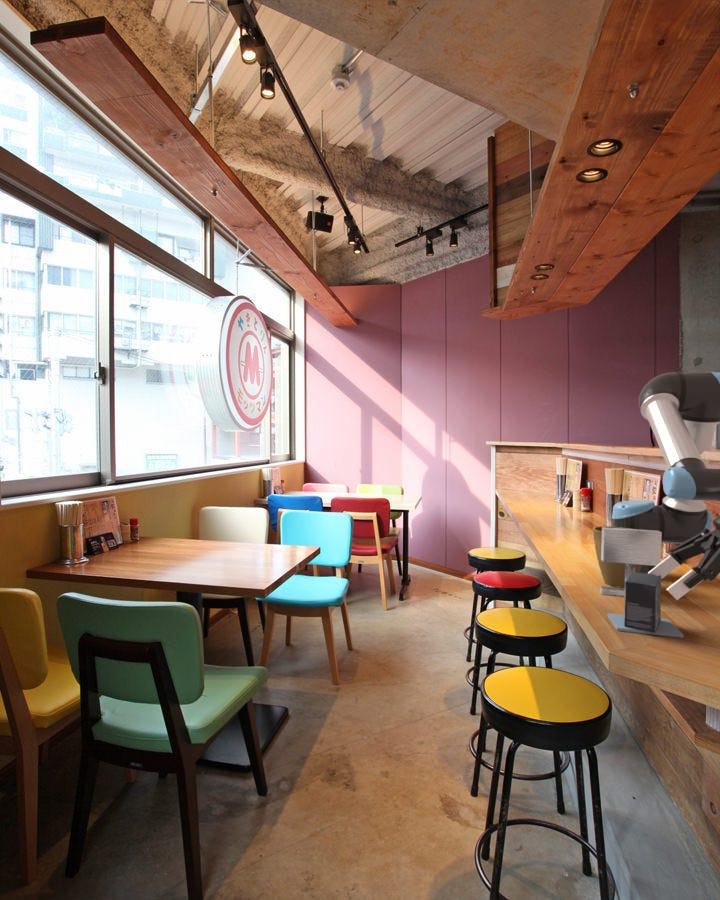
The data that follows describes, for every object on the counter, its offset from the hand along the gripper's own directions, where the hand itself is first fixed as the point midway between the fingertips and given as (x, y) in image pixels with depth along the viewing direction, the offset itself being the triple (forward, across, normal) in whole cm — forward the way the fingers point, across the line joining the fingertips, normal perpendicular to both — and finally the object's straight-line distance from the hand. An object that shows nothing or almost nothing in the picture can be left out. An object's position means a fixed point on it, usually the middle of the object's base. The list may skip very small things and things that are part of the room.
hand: (661, 585), depth 111 cm
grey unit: (+7, +26, -7) cm, 27 cm away
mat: (+9, 0, -5) cm, 10 cm away
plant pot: (+8, +37, -7) cm, 38 cm away
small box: (+9, +1, -4) cm, 10 cm away
